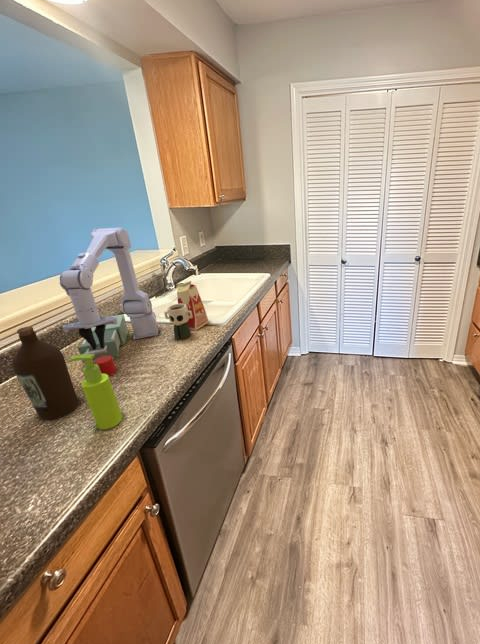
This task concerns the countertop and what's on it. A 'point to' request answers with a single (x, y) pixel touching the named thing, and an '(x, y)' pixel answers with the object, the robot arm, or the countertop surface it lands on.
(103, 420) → the soap dispenser
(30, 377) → the olive oil
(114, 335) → the drawer
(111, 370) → the red cube
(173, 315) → the character mug
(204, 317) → the milk carton
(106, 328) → the green box
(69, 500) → the countertop surface
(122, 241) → the robot arm
